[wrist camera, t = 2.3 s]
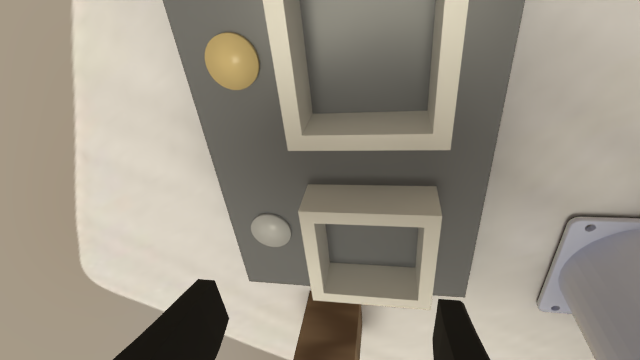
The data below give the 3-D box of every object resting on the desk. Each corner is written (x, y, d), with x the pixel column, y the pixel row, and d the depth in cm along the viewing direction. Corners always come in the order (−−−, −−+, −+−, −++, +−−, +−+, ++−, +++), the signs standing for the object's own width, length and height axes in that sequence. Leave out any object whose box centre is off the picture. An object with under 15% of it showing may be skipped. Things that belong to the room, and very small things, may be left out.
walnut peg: (360, 294, 26) (350, 408, 20) (362, 326, 28) (353, 438, 22) (309, 290, 27) (283, 399, 20) (315, 321, 29) (293, 428, 23)
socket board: (534, -120, 12) (588, -148, 9) (460, 279, 23) (472, 332, 20) (162, -66, 15) (98, -71, 12) (256, 266, 26) (237, 310, 23)
